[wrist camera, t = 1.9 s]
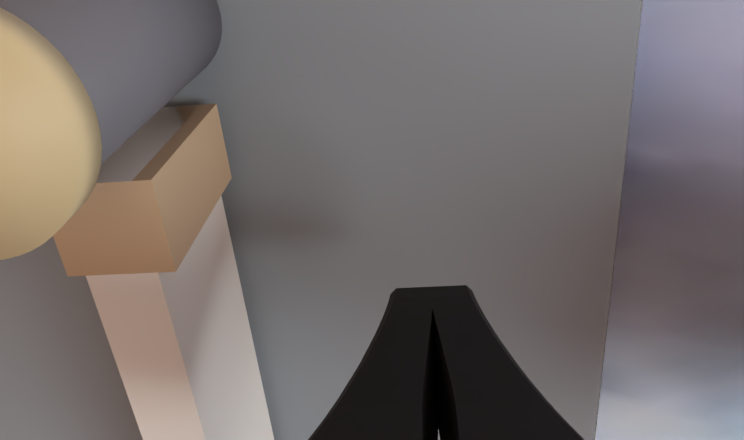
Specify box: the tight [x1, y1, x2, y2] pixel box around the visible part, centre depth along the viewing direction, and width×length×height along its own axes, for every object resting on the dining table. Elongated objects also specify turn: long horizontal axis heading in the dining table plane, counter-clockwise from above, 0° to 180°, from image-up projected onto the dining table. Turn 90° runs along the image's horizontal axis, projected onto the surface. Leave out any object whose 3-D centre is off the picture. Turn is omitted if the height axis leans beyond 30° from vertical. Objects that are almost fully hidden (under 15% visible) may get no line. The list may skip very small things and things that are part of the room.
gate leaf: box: [53, 104, 274, 440], centre depth 14 cm, size 12×2×4 cm, turn 5°
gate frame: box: [0, 0, 643, 440], centre depth 14 cm, size 18×19×8 cm
